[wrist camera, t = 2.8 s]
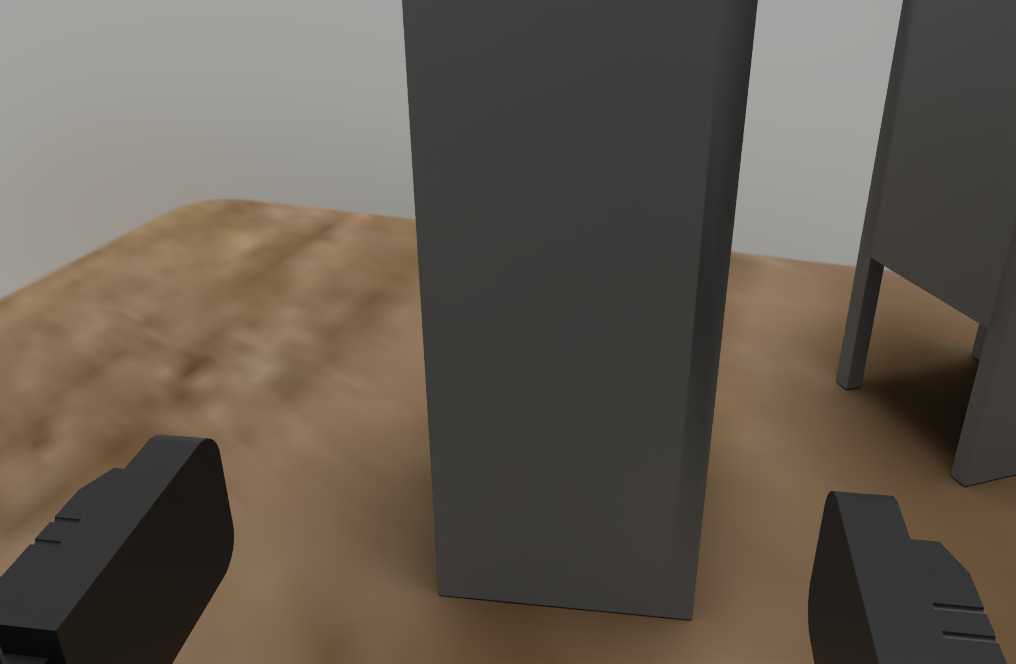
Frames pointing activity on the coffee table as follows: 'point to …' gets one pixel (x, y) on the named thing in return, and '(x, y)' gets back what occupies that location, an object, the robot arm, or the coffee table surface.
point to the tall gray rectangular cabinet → (950, 205)
